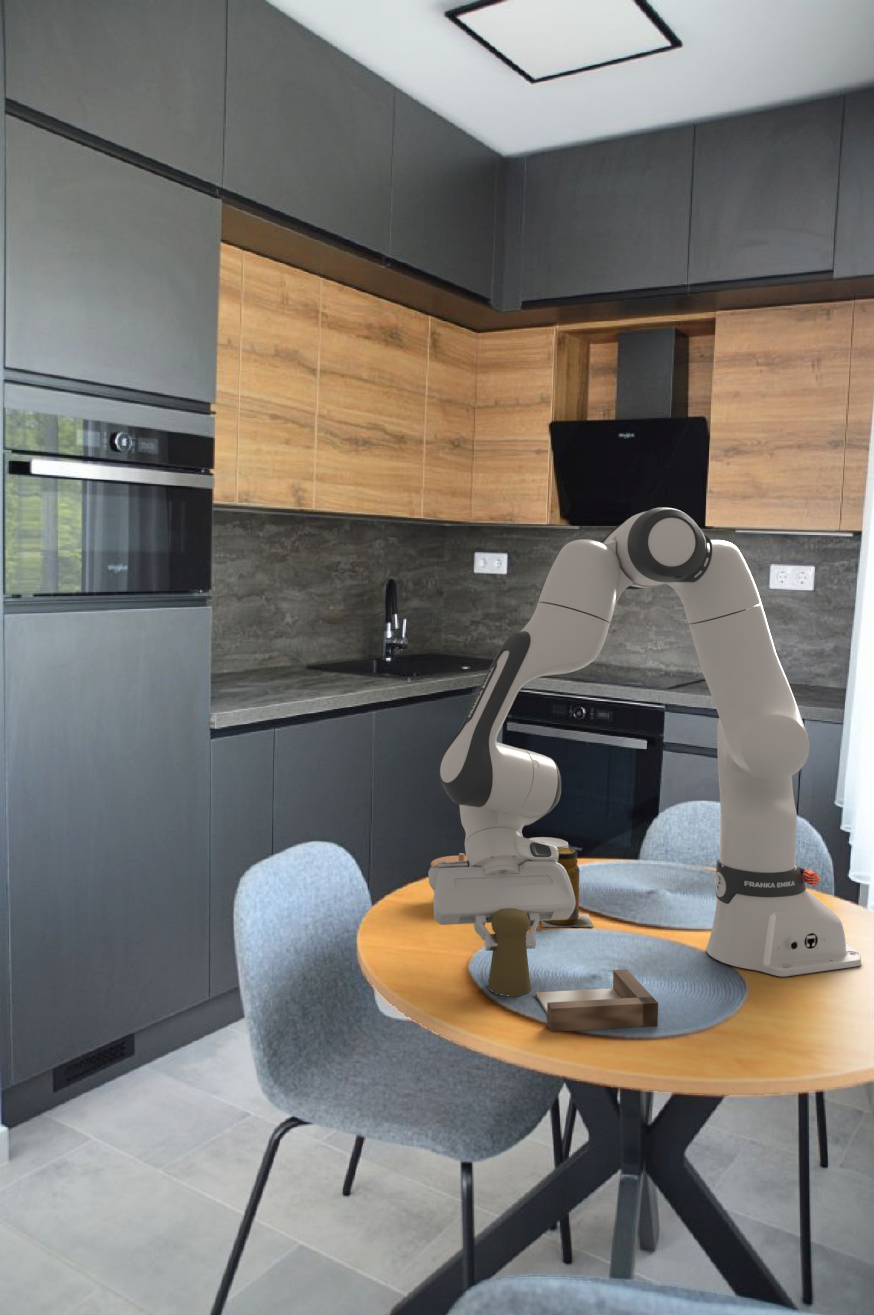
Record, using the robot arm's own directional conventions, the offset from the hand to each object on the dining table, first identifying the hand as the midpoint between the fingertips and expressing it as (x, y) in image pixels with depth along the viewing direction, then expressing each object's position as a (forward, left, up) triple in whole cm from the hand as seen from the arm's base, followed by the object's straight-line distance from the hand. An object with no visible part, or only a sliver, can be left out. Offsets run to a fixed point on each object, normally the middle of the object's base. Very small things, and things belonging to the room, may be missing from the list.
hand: (511, 948), depth 148 cm
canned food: (-15, -39, -6) cm, 42 cm away
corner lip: (-9, +8, -6) cm, 14 cm away
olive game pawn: (0, -1, -6) cm, 6 cm away
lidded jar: (0, -39, -6) cm, 39 cm away
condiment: (-16, -29, -6) cm, 33 cm away
